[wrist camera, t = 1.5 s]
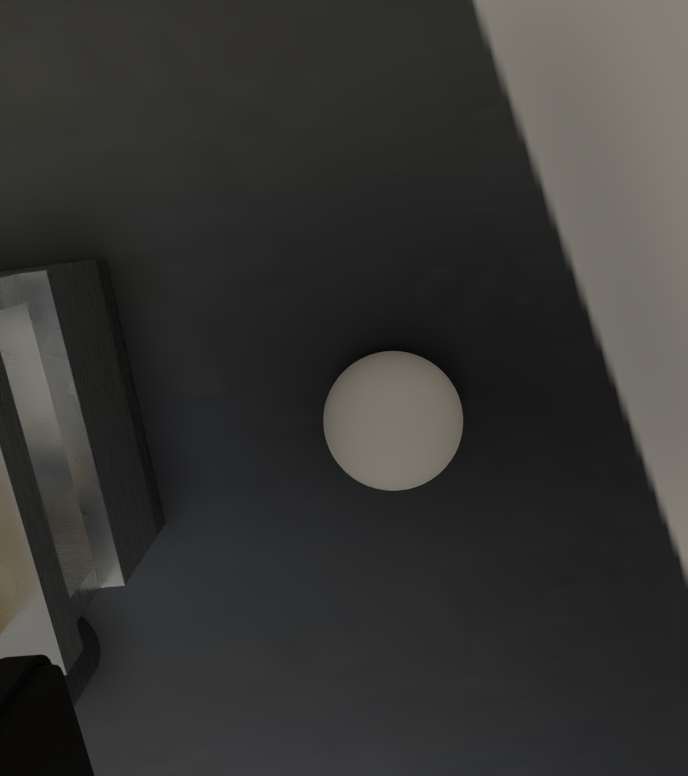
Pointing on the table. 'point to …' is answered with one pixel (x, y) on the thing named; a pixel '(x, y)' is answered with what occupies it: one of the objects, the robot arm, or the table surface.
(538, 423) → the table surface
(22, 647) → the white open box
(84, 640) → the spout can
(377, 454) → the light grey ball
